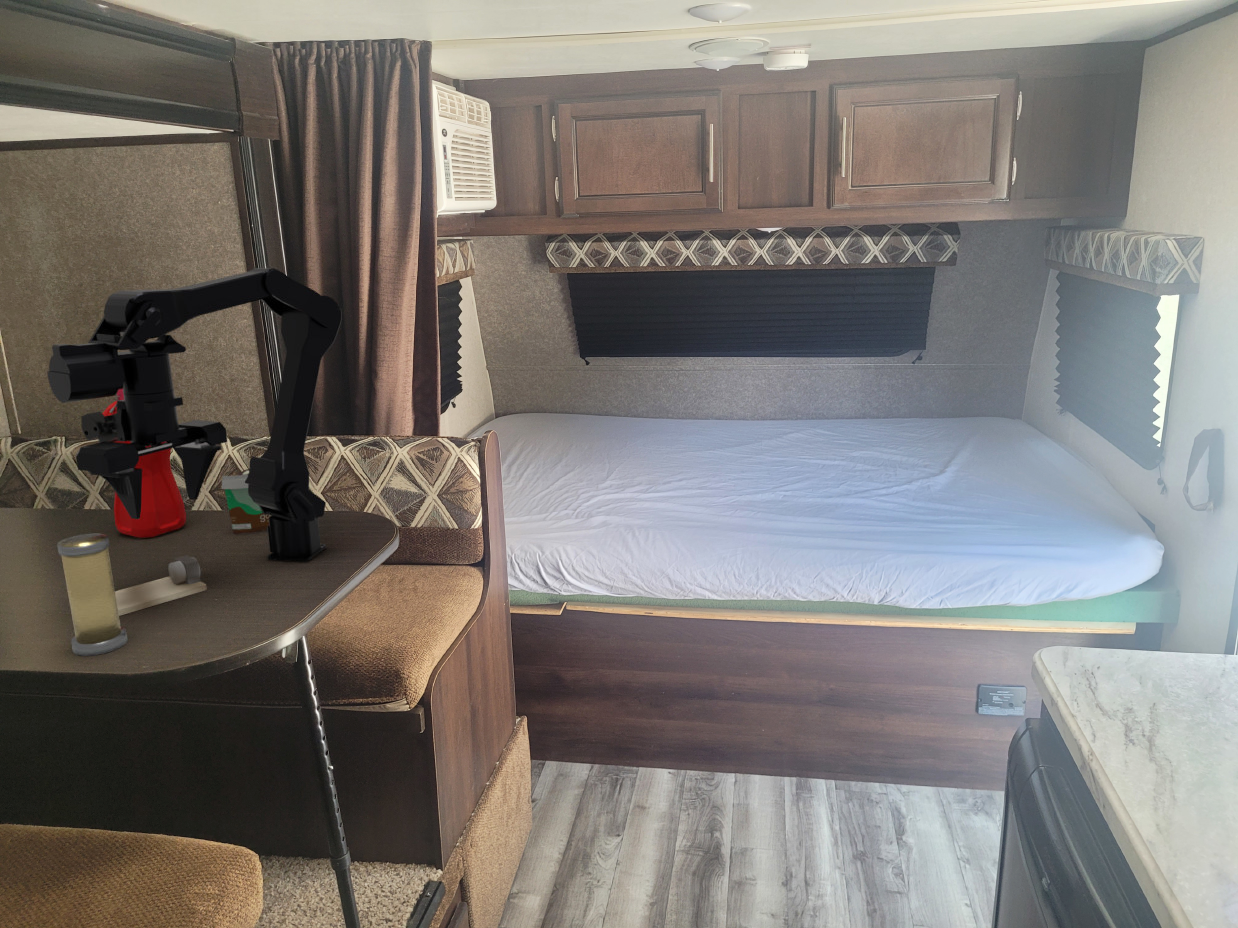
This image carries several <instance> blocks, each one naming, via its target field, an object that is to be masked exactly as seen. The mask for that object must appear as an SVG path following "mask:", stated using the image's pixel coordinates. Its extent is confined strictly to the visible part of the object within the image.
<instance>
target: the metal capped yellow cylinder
mask: <svg viewBox="0 0 1238 928" xmlns="http://www.w3.org/2000/svg"><path fill="white" fill-rule="evenodd" d="M56 545H57V551H58V555H60V557H61V560H62V566H63V572H64V577H65V578H64V579H65V584H66V591H67V595H68V601H69V607H70V613H71V618H72V624H73V630H74V636H73V637H72V638H71V641H70V642H71V643H70V644H71V648H72V652H73V654H74V655H77V656H80V657H81V656H82V657H88V656H89V657H91V656H97V655H103V654H107V653H111V652H113V651H116V650H118V649H120V648H122V647H124V646H125V645H126V644H127V642H128V635H127V634H128V633H127V630H126V628H125V627H123V626H121V621H120V616H119V614H118V608H117V602H116V596H115V591H116V590H115V585H114V578H113V577H114V576H113V573H112V572H113V571H112V565H111V559H110V554H109V552H110V551H109V547H110V541H109V536H108V535H107V534H105V533H85V534H83V533H82V534H78V535H74V536H70V537H67V538H64V539H62V540H60V541H58V542H57V544H56Z"/></svg>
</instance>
